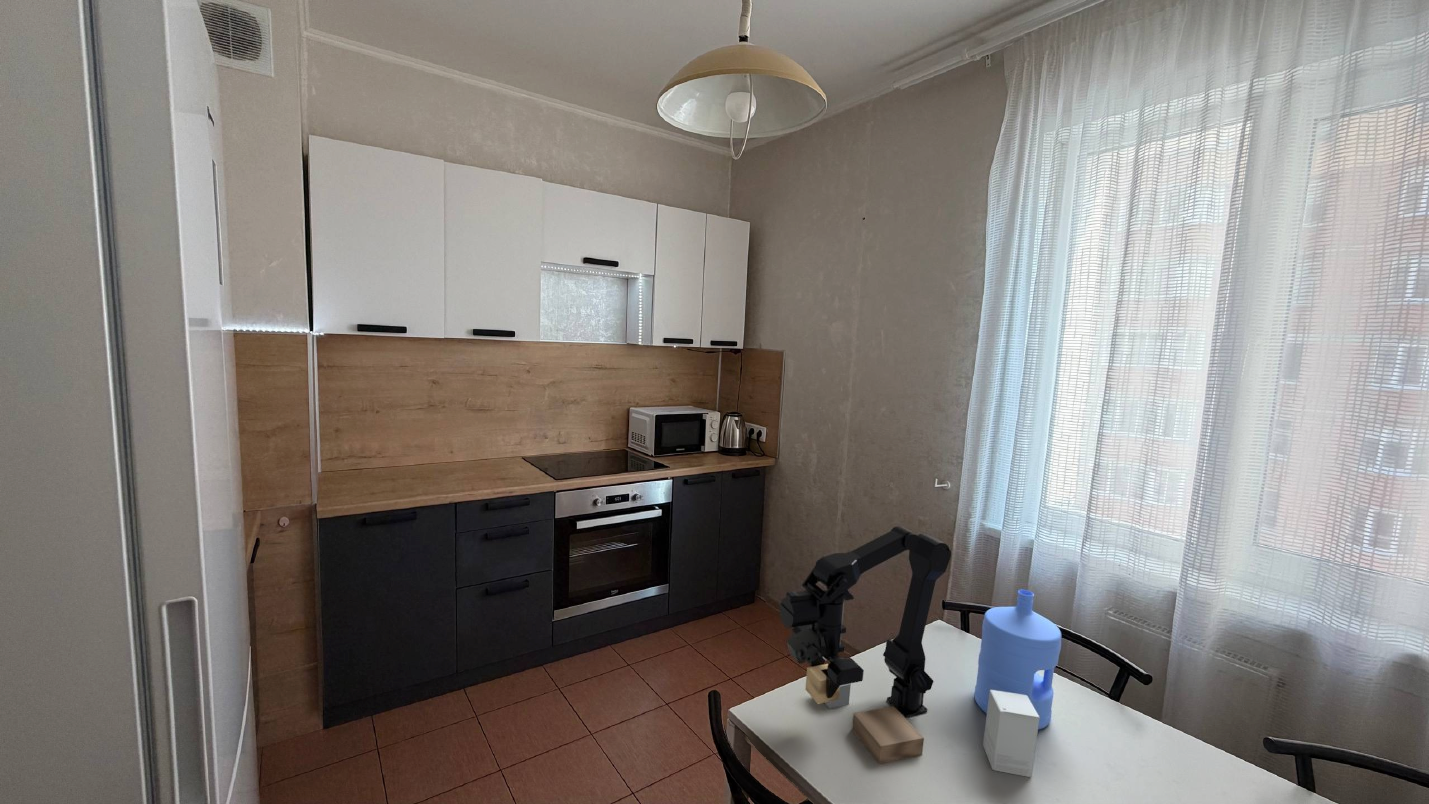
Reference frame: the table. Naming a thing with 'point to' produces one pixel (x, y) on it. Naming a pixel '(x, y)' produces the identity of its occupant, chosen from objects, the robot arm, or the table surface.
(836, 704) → the grey cube
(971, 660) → the table surface
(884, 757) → the walnut block
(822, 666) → the oak cube
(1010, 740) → the supplement box
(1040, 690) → the water jug
